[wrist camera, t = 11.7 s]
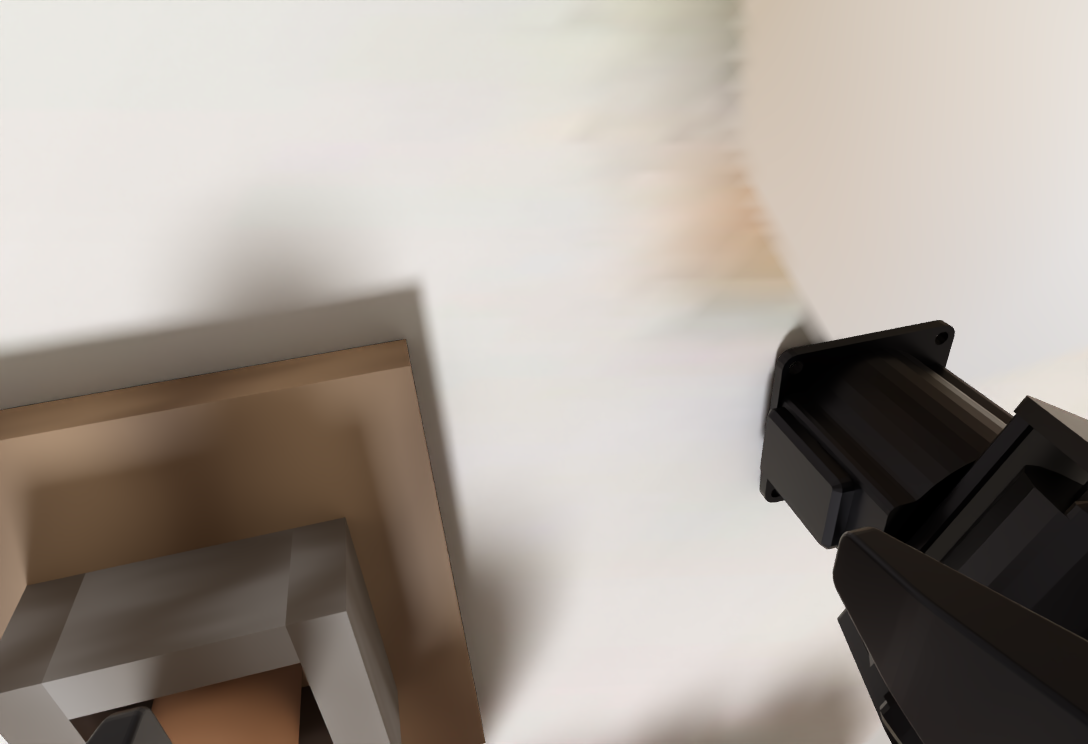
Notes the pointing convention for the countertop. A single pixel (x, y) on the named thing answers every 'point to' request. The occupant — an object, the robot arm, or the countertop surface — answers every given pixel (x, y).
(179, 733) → the peg
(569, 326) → the countertop surface
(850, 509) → the robot arm
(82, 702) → the socket board
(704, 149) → the countertop surface
